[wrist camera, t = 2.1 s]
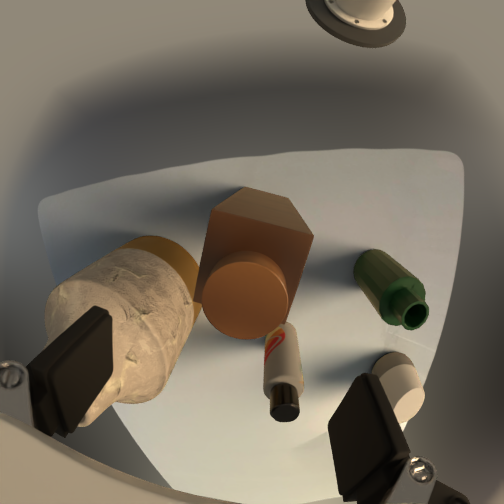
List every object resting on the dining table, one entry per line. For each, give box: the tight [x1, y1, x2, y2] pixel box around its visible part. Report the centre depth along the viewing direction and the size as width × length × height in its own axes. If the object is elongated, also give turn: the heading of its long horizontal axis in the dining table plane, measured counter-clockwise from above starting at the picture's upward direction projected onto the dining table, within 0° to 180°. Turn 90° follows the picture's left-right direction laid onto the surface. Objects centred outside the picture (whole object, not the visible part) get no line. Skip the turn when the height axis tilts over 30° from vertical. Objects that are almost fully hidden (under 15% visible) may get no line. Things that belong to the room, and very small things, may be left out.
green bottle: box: [354, 249, 429, 330], centre depth 38 cm, size 7×7×17 cm
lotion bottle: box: [263, 322, 304, 422], centre depth 41 cm, size 6×6×20 cm
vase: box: [43, 236, 202, 427], centre depth 35 cm, size 18×18×30 cm
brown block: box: [193, 187, 314, 324], centre depth 32 cm, size 7×7×26 cm
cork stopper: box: [201, 251, 288, 339], centre depth 17 cm, size 5×5×5 cm
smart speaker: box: [372, 352, 425, 423], centre depth 45 cm, size 10×9×14 cm
